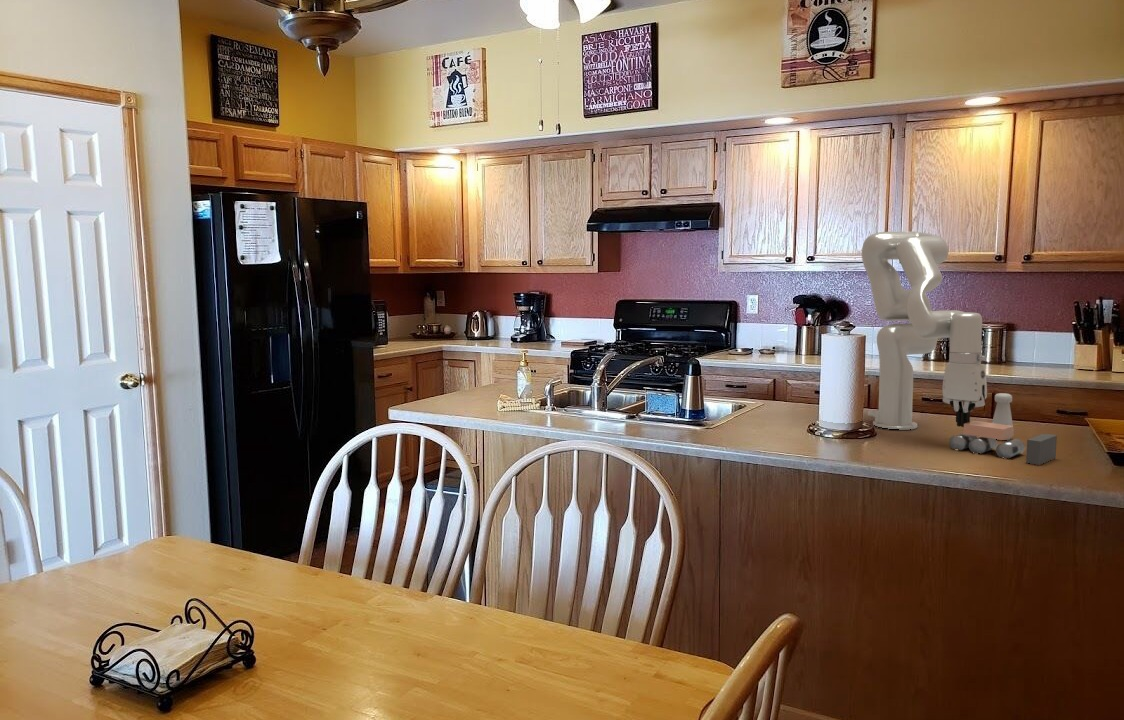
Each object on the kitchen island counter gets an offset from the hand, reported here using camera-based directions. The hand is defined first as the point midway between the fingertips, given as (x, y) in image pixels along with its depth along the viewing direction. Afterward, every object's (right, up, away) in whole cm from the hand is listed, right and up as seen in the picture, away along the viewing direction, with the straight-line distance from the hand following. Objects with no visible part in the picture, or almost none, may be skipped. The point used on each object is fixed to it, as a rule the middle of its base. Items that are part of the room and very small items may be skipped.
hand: (962, 425), depth 211 cm
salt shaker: (+16, -5, +10) cm, 19 cm away
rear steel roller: (0, -6, +1) cm, 6 cm away
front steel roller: (+3, -7, -3) cm, 8 cm away
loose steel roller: (+8, -7, -9) cm, 14 cm away
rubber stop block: (+12, -8, -15) cm, 20 cm away
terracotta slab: (+4, -2, -5) cm, 7 cm away
